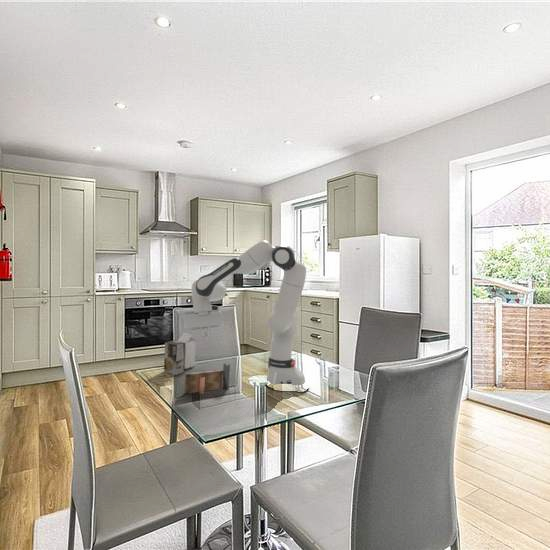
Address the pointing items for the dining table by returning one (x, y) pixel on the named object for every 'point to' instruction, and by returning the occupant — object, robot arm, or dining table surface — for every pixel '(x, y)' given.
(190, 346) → the milk carton
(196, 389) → the gate
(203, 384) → the catch post
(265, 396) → the dining table surface
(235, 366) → the dining table surface
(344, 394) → the dining table surface
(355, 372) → the dining table surface
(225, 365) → the gate post
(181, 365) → the coffee box
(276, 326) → the robot arm
